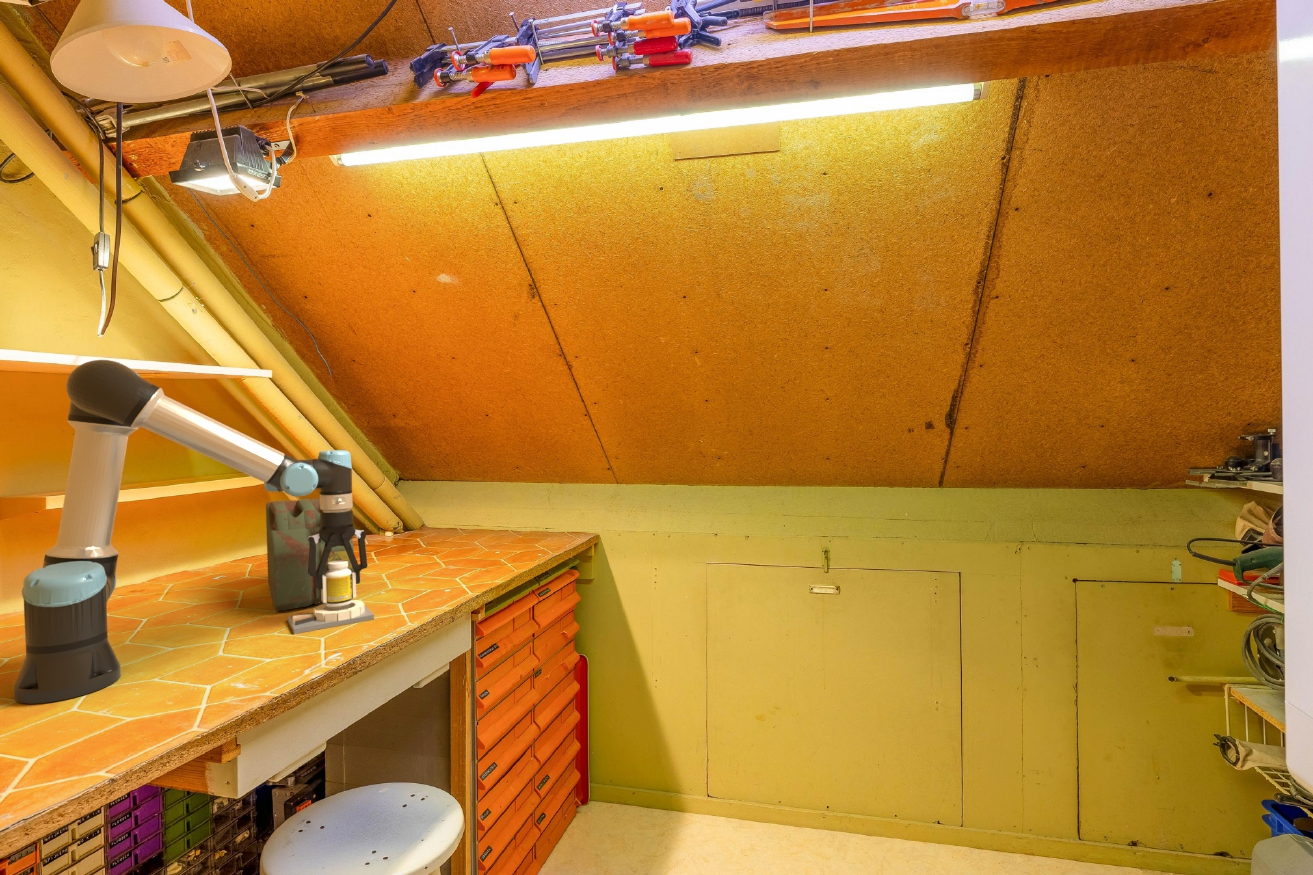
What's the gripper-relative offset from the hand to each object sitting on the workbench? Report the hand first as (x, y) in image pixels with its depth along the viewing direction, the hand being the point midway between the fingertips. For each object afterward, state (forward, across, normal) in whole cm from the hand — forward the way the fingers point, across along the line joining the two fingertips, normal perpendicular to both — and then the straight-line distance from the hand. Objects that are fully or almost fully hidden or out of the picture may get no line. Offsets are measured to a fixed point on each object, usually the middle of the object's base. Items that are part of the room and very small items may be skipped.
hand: (339, 598), depth 163 cm
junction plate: (+5, -2, 0) cm, 6 cm away
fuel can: (+6, -3, +31) cm, 31 cm away
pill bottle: (+2, 0, 0) cm, 2 cm away
